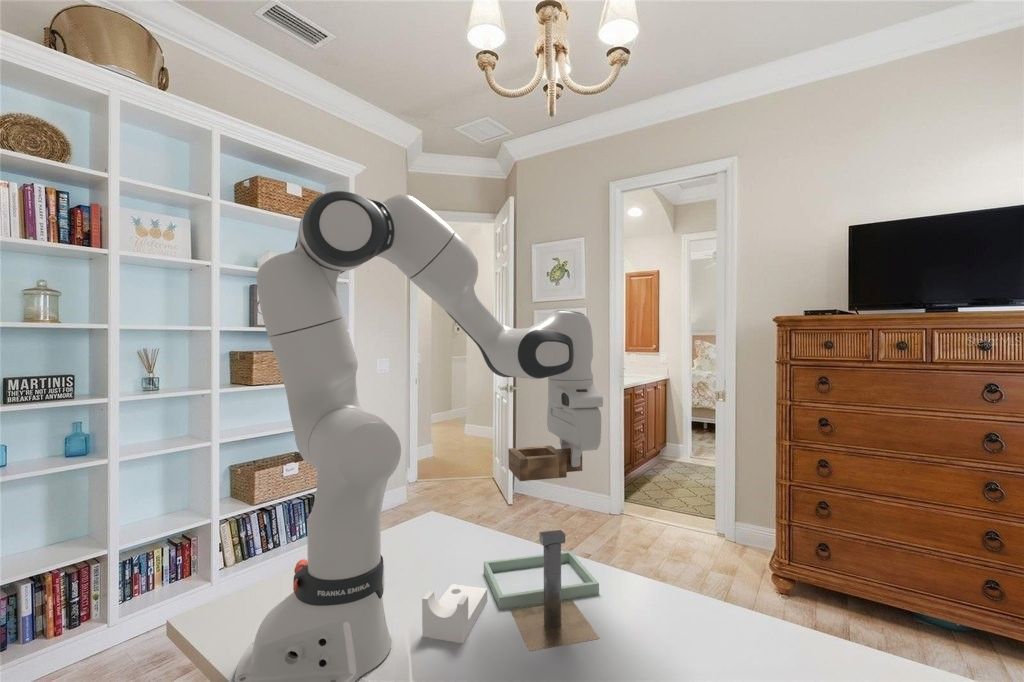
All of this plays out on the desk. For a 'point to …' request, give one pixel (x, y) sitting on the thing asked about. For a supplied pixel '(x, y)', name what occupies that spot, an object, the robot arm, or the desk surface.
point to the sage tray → (538, 595)
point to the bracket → (452, 612)
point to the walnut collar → (540, 463)
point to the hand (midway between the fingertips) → (571, 463)
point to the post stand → (552, 606)
